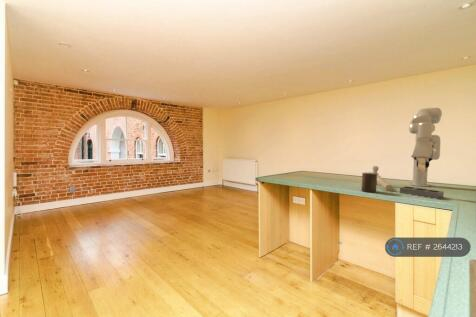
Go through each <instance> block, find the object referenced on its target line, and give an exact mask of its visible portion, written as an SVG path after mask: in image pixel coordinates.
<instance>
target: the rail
mask: <svg viewBox="0 0 476 317" xmlns="http://www.w3.org/2000/svg"><path fill="white" fill-rule="evenodd" d="M403 193H404V194H403ZM444 193H445V192H444V191H443V190H435V189H429V188H422V187H420V188H419V187H415V186H408V185H407V186H405V185H404V186H400V187H399V194H403V195H409V194H411V196H415V195H418V196H417V197H421V196H424V197H423V198H427V197H430V198H429V199H433V198H436V199H435V200H439V198H440V199H442V198H444Z"/></svg>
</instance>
